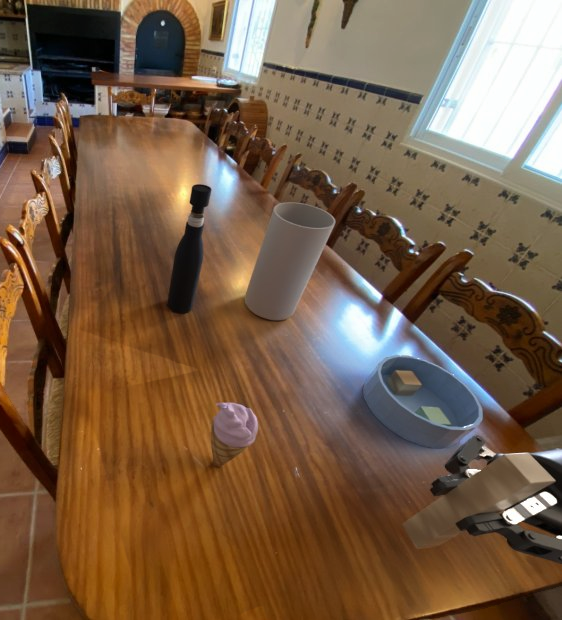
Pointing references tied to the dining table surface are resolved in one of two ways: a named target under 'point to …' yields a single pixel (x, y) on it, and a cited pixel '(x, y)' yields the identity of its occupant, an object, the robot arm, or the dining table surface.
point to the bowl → (422, 402)
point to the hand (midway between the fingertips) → (449, 505)
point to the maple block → (403, 382)
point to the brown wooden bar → (478, 498)
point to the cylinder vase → (287, 259)
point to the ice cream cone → (232, 432)
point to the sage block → (433, 415)
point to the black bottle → (189, 254)
